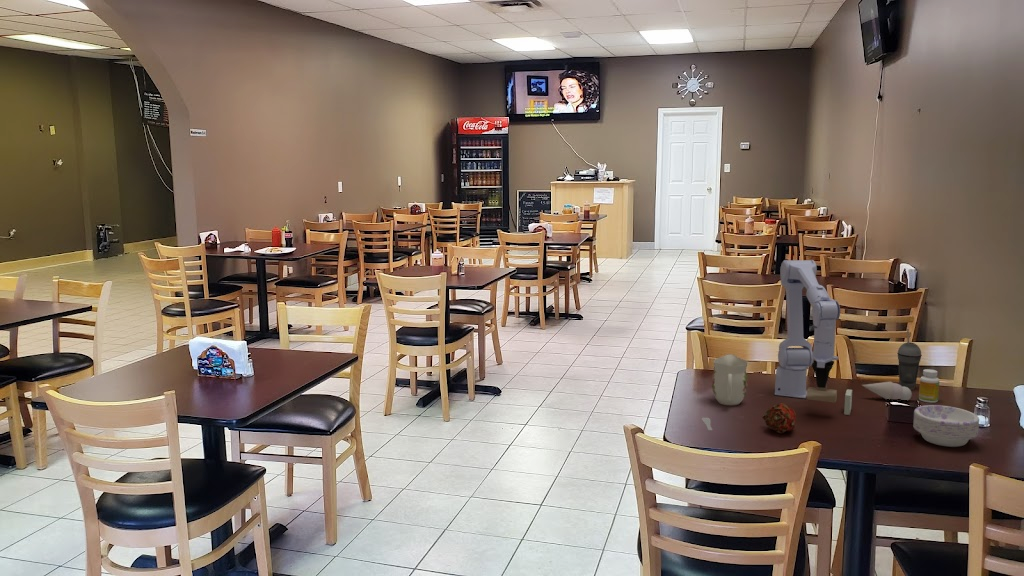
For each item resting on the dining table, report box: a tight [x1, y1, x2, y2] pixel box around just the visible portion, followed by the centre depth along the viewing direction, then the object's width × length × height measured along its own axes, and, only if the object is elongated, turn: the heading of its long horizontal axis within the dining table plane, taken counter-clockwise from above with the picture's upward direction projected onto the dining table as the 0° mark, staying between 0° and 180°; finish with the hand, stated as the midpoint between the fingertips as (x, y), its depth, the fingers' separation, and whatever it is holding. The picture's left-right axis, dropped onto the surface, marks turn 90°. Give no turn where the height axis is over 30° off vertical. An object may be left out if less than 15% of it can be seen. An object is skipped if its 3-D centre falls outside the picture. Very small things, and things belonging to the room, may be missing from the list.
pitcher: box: [711, 353, 749, 406], centre depth 241 cm, size 11×18×14 cm, turn 164°
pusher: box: [806, 382, 838, 404], centre depth 227 cm, size 3×8×9 cm, turn 63°
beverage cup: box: [897, 328, 922, 391], centre depth 255 cm, size 7×7×20 cm
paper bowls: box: [912, 404, 980, 448], centre depth 206 cm, size 15×15×8 cm
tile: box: [843, 389, 853, 416], centre depth 232 cm, size 2×7×6 cm, turn 153°
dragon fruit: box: [761, 402, 797, 434], centre depth 215 cm, size 8×8×12 cm
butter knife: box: [701, 417, 713, 431], centre depth 216 cm, size 1×24×3 cm
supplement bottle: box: [918, 368, 940, 404], centre depth 242 cm, size 5×5×10 cm
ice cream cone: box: [861, 381, 913, 401], centre depth 243 cm, size 6×6×15 cm
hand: (821, 386), depth 227 cm, fingers closed on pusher, 2 cm apart
